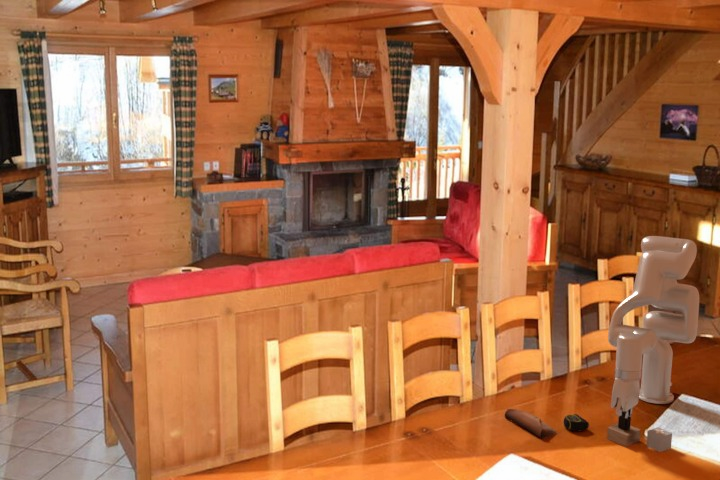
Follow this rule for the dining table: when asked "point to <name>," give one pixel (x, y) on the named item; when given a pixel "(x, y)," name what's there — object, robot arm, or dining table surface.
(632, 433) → the brown block
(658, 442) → the slate cube
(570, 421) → the tape measure
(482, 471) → the dining table surface
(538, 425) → the sunglasses case
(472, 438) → the dining table surface
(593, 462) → the dining table surface
